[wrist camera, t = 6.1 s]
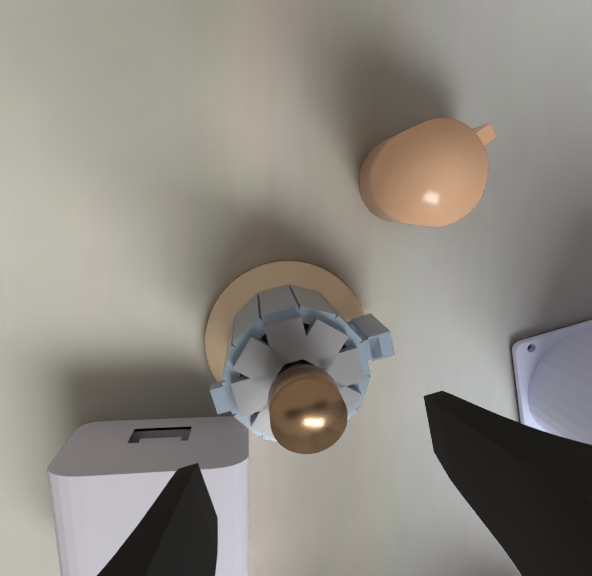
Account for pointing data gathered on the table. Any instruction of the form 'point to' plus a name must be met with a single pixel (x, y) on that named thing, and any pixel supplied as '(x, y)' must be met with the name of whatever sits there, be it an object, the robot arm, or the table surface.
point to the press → (288, 338)
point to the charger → (146, 486)
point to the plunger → (305, 407)
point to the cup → (427, 173)
